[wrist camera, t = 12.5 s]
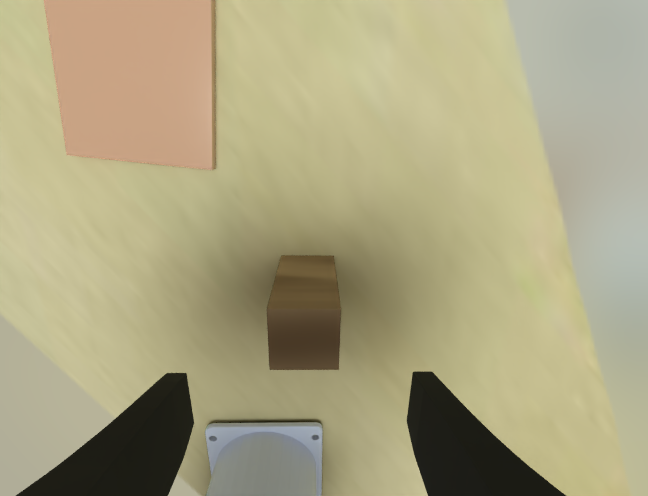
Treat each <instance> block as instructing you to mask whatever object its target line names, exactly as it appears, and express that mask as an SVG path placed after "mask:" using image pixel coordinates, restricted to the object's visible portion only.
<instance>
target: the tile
mask: <svg viewBox="0 0 648 496" xmlns="http://www.w3.org/2000/svg"><path fill="white" fill-rule="evenodd" d="M44 5H45V11H46V18H47V25H48V31H49V38H50V45H51V52H52V58H53V65H54V72H55V78H56V85H57V92H58V99H59V105H60V112H61V119H62V126H63V132H64V139H65V146H66V152H67V155H72V156H81V157H91V158H101V159H110V160H120V161H130V162H140V163H149V164H159V165H169V166H178V167H188V168H198V169H207V170H213V169H216V156H215V0H44Z"/></svg>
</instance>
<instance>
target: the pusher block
mask: <svg viewBox="0 0 648 496" xmlns="http://www.w3.org/2000/svg"><path fill="white" fill-rule="evenodd" d="M340 321H341V306H340V299H339V291H338V284H337V277H336V270H335V263H334V256H281V258H280V262H279V266H278V269H277V273H276V277H275V281H274V284H273V288H272V292H271V295H270V299H269V303H268V306H267V324H268V345H269V366H270V370H339V348H340Z"/></svg>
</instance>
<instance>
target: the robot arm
mask: <svg viewBox="0 0 648 496" xmlns="http://www.w3.org/2000/svg"><path fill="white" fill-rule="evenodd" d="M407 424H408V429H409V433H410V438H411V442H412V447H413V451H414V455H415V458H416V461H417V464H418V467H419V470H420V473H421V476H422V479H423V482H424V485H425V488H426V491H427V494H428V496H566V495H564V494H563V493H562V492H560V491H559V490H558V489H557V488H555V487H554V486H553V485H551V484H550V483H549V482H548V481H547V480H545V479H544V478H543V477H542V476H540V475H539V474H538V473H537V472H535V471H534V470H533V469H532V468H530V467H529V466H528V465H527V464H526V463H524V462H523V461H522V460H521V459H520V458H519V457H517V456H516V455H515V454H514V453H513V452H512V451H511V450H510V449H509V448H507V447H506V446H505V445H504V444H503V443H502V442H501V441H500V440H499V439H498V438H496V437H495V436H494V435H493V434H492V433H491V432H490V431H489V430H488V429H487V428H486V427H485V426H484V425H483V424H482V423H481V422H480V421H479V420H478V419H477V418H476V417H475V416H474V415H473V414H472V413H471V412H470V411H469V410H468V409H467V408H466V407H465V406H464V405H463V404H462V403H461V402H460V401H459V400H458V399H457V398H456V397H455V396H454V394H453V393H452V392H451V391H450V390H449V389H448V388H447V387H446V386H445V385H444V384H443V383H442V382H441V381H440V380H439V379H438V378H437V376H436V375H435V374H434V373H433V372H413V376H412V384H411V392H410V399H409V407H408V415H407ZM193 425H194V419H193V413H192V406H191V400H190V394H189V387H188V381H187V374H186V373H167V374H165V375H164V376H163V377H162V378H161V379H160V380H158V381H157V382H156V383H155V384H154V385H153V386H152V387H151V388H150V389H148V390H147V391H146V392H145V393H144V394H143V395H142V396H141V397H139V398H138V399H137V400H136V401H135V402H134V403H133V404H132V405H131V406H129V407H128V408H127V409H126V410H125V411H124V412H123V413H121V414H120V415H119V416H118V417H117V418H116V419H115V420H113V421H112V422H111V423H110V424H109V425H108V426H107V427H105V428H104V429H103V430H102V431H100V432H99V433H98V434H97V435H95V436H94V437H93V438H92V439H91V440H89V441H88V442H87V443H86V444H84V445H83V446H82V447H81V448H79V449H78V450H77V451H76V452H75V453H73V454H72V455H71V456H70V457H68V458H67V459H66V460H64V461H63V462H62V463H60V464H59V465H58V466H57V467H55V468H54V469H52V470H51V471H50V472H48V473H47V474H46V475H44V476H43V477H42V478H40V479H39V480H38V481H36V482H34V483H33V484H32V485H30V486H29V487H28V488H26V489H25V490H23V491H22V492H20V493H19V494H17V495H16V496H168V494H169V492H170V489H171V487H172V485H173V482H174V480H175V477H176V475H177V473H178V470H179V468H180V465H181V463H182V461H183V458H184V455H185V452H186V449H187V445H188V442H189V439H190V435H191V432H192V428H193ZM205 435H206V442H207V449H208V456H209V463H210V470H211V480H210V484H209V487H208V490H207V494H206V496H321V495H322V425H321V424H320V423H317V422H284V423H212V424H209V425H208V426H207V427H206V430H205Z"/></svg>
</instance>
